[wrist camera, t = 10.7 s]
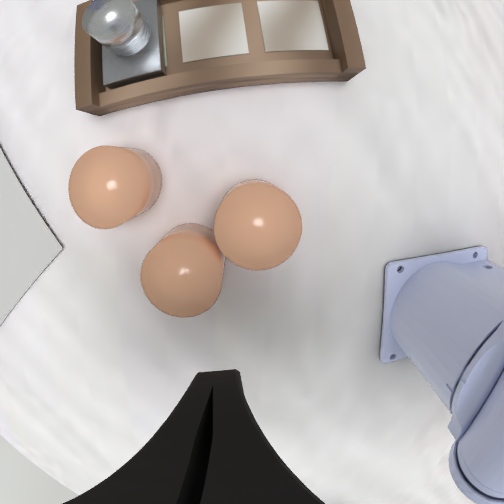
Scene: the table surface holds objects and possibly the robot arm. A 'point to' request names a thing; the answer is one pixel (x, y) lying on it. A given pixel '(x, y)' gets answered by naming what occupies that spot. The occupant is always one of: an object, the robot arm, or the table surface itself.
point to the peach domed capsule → (257, 225)
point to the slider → (127, 39)
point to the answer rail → (229, 49)
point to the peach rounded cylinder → (184, 271)
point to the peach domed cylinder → (113, 185)
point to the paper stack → (20, 240)
